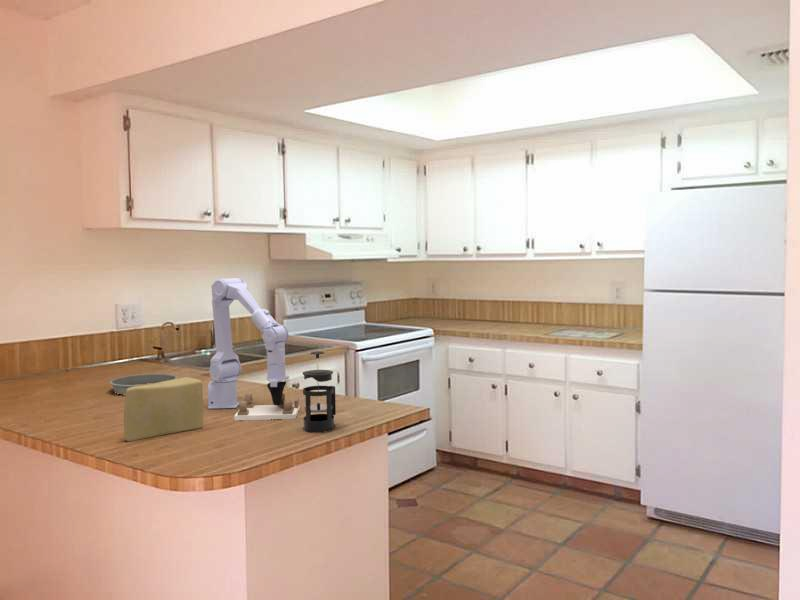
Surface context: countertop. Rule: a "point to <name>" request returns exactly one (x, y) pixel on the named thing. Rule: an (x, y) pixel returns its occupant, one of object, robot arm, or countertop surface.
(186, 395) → the cheese
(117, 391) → the cake pan
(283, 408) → the hinged leg
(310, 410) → the french press
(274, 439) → the countertop surface
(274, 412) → the white board with posts
